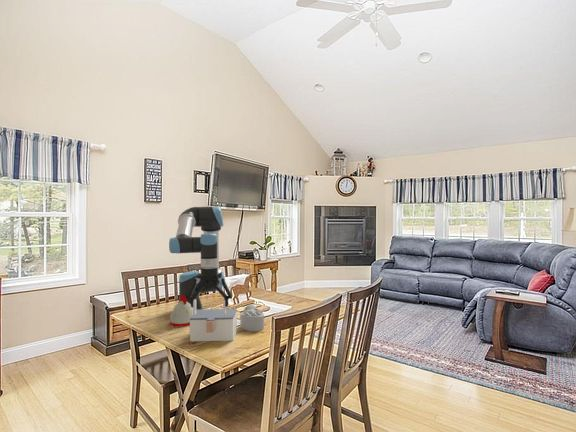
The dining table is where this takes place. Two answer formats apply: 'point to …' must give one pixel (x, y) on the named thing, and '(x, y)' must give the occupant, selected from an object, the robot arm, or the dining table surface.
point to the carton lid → (212, 316)
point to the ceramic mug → (250, 307)
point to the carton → (222, 330)
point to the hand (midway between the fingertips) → (209, 314)
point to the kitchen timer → (181, 313)
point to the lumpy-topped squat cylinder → (252, 320)
